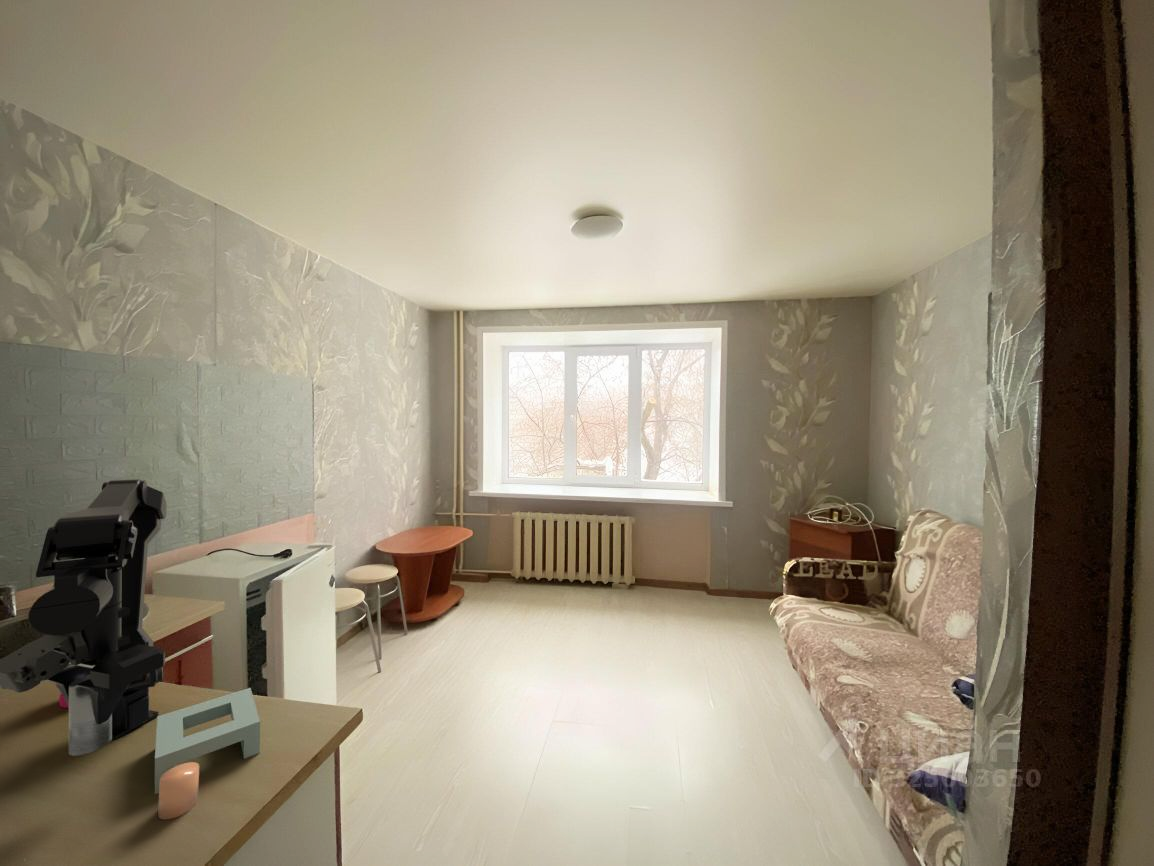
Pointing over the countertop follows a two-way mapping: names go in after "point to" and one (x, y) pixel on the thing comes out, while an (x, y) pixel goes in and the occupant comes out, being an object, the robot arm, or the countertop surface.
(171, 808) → the terracotta stub
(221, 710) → the slate pin jig
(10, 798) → the countertop surface
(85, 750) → the steel pin
